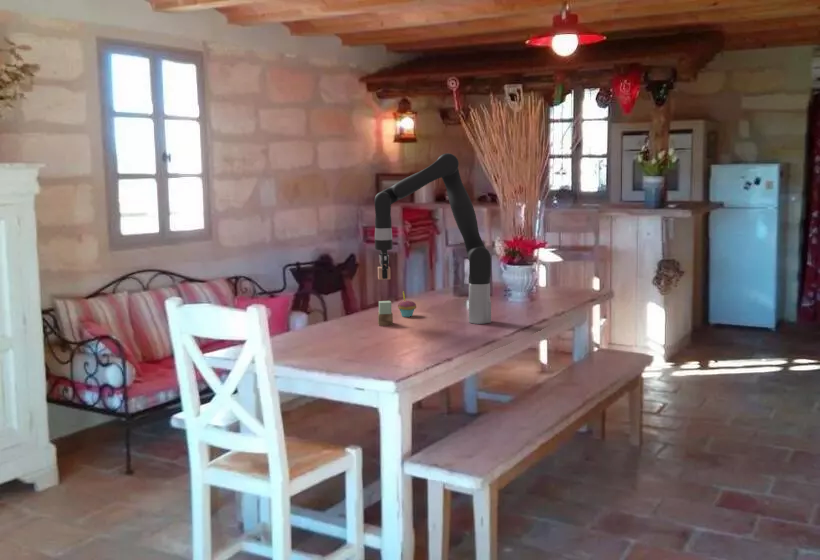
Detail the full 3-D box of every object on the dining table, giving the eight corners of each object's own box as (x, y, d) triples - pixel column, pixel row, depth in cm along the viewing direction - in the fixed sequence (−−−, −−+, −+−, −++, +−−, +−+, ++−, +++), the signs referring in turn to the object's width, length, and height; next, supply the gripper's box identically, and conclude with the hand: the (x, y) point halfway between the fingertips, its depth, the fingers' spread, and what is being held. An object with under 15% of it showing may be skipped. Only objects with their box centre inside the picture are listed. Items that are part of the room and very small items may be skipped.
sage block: (390, 312, 377) (390, 300, 376) (391, 313, 372) (391, 302, 372) (378, 312, 376) (378, 301, 376) (380, 314, 372) (379, 302, 371)
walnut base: (391, 322, 378) (391, 311, 378) (392, 325, 373) (392, 314, 372) (378, 323, 378) (377, 312, 377) (378, 326, 372) (378, 314, 371)
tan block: (389, 277, 375) (389, 266, 374) (390, 279, 370) (390, 267, 369) (377, 278, 374) (377, 266, 374) (378, 279, 370) (378, 268, 369)
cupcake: (395, 317, 392) (394, 291, 390) (402, 314, 400) (401, 288, 398) (412, 318, 389) (412, 291, 387) (419, 314, 397) (419, 289, 395)
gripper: (394, 239, 363) (394, 279, 366) (390, 237, 378) (391, 275, 380) (376, 240, 362) (377, 280, 365) (373, 237, 377) (374, 276, 379)
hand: (384, 277), depth 372 cm, fingers closed on tan block, 5 cm apart
